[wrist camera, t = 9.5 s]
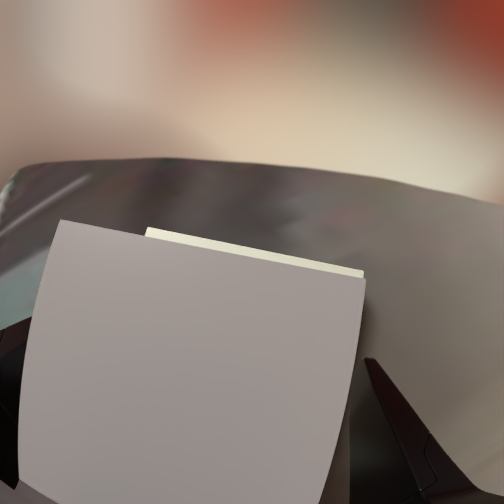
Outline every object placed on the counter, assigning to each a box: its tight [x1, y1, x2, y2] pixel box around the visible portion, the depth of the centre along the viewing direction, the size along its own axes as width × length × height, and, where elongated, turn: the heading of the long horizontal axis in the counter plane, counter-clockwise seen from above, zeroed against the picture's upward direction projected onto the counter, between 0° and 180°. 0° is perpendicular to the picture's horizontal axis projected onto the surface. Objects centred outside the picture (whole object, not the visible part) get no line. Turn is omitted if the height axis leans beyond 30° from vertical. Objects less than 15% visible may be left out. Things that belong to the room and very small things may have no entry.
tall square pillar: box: [18, 220, 366, 504], centre depth 10 cm, size 5×5×14 cm
